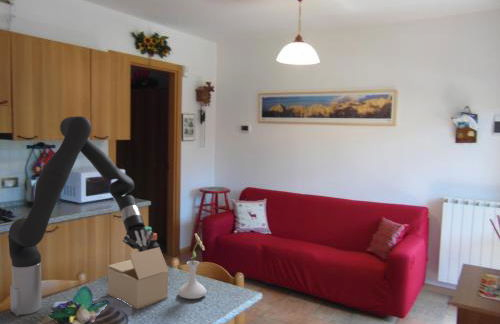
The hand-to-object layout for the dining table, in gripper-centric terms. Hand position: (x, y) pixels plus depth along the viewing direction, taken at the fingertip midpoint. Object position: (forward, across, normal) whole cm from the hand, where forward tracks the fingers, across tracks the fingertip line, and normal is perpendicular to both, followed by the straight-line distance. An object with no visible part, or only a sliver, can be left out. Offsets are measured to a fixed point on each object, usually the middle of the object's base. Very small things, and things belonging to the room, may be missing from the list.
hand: (145, 256), depth 156 cm
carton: (+9, -1, +16) cm, 18 cm away
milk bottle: (-10, +17, +36) cm, 41 cm away
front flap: (+3, 0, 0) cm, 3 cm away
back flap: (-2, -2, +11) cm, 12 cm away
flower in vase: (+18, +18, +7) cm, 26 cm away
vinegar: (-1, +13, +27) cm, 30 cm away
